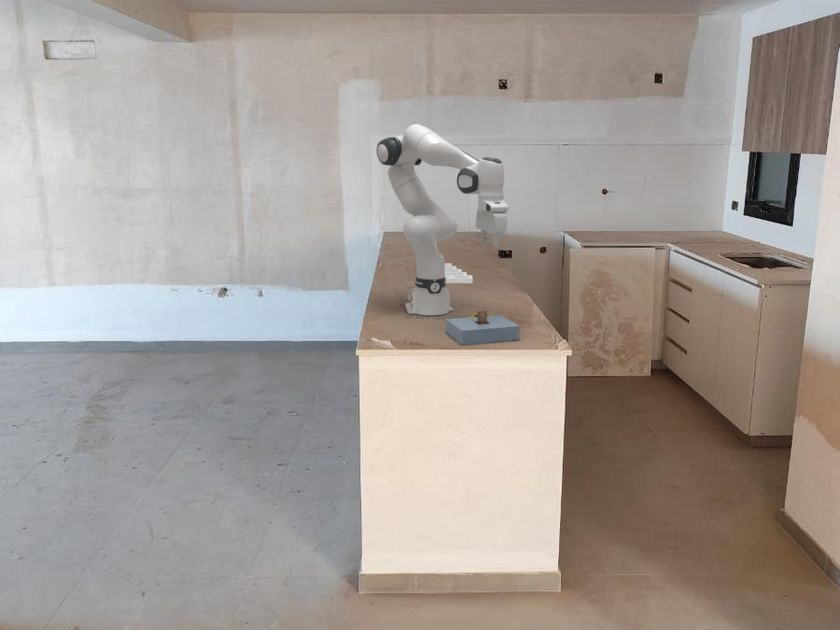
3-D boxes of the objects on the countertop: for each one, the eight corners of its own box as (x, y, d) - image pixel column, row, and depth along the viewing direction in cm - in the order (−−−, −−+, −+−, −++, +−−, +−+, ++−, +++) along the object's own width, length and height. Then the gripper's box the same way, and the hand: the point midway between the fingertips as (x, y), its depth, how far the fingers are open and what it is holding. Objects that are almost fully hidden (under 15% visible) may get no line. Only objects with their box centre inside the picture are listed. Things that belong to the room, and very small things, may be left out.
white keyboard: (434, 268, 399) (434, 263, 398) (468, 268, 398) (468, 263, 398) (435, 284, 355) (435, 278, 354) (472, 284, 355) (472, 278, 354)
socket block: (445, 332, 264) (445, 319, 263) (500, 328, 270) (500, 315, 268) (461, 345, 248) (462, 330, 247) (519, 340, 254) (519, 326, 253)
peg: (476, 335, 260) (476, 310, 258) (484, 334, 261) (484, 310, 259) (479, 337, 257) (479, 312, 255) (487, 337, 258) (488, 312, 256)
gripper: (471, 202, 267) (471, 240, 270) (493, 207, 248) (492, 248, 251) (488, 202, 269) (487, 240, 272) (510, 207, 250) (509, 247, 253)
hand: (490, 244), depth 261 cm, fingers open, 8 cm apart
